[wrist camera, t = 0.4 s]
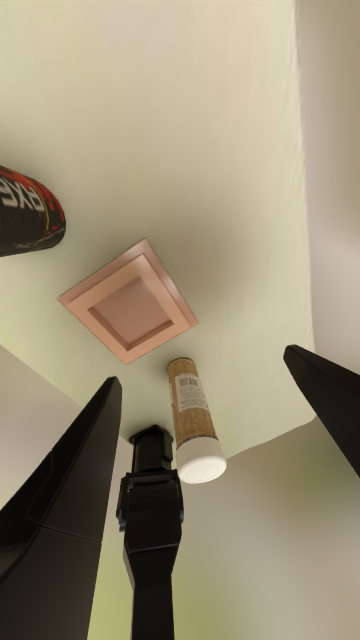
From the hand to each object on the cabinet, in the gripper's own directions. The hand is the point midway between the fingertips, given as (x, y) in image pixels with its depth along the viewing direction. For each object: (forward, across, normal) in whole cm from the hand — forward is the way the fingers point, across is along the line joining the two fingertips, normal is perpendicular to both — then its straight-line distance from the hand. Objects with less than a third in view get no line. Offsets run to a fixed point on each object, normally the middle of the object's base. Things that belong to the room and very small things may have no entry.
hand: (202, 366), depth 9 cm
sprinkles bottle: (+13, +1, +14) cm, 19 cm away
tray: (+13, +6, +3) cm, 15 cm away
